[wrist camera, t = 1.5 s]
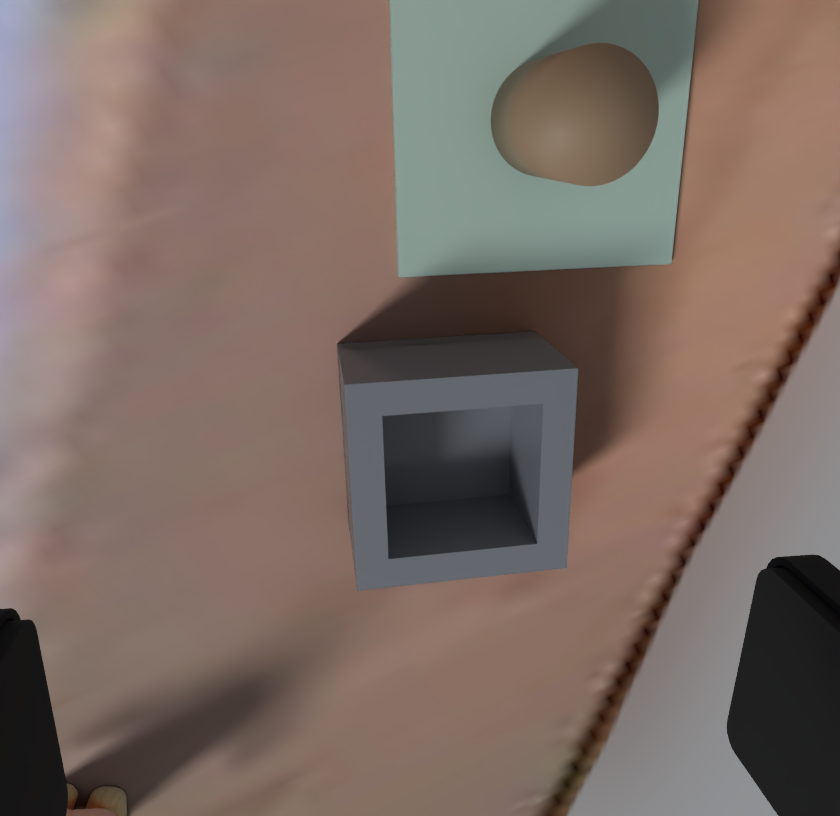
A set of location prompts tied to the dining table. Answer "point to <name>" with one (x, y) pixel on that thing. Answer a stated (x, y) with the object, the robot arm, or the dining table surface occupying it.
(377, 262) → the dining table surface
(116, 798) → the grandmother figurine
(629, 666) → the dining table surface
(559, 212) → the lid
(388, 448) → the square open box
